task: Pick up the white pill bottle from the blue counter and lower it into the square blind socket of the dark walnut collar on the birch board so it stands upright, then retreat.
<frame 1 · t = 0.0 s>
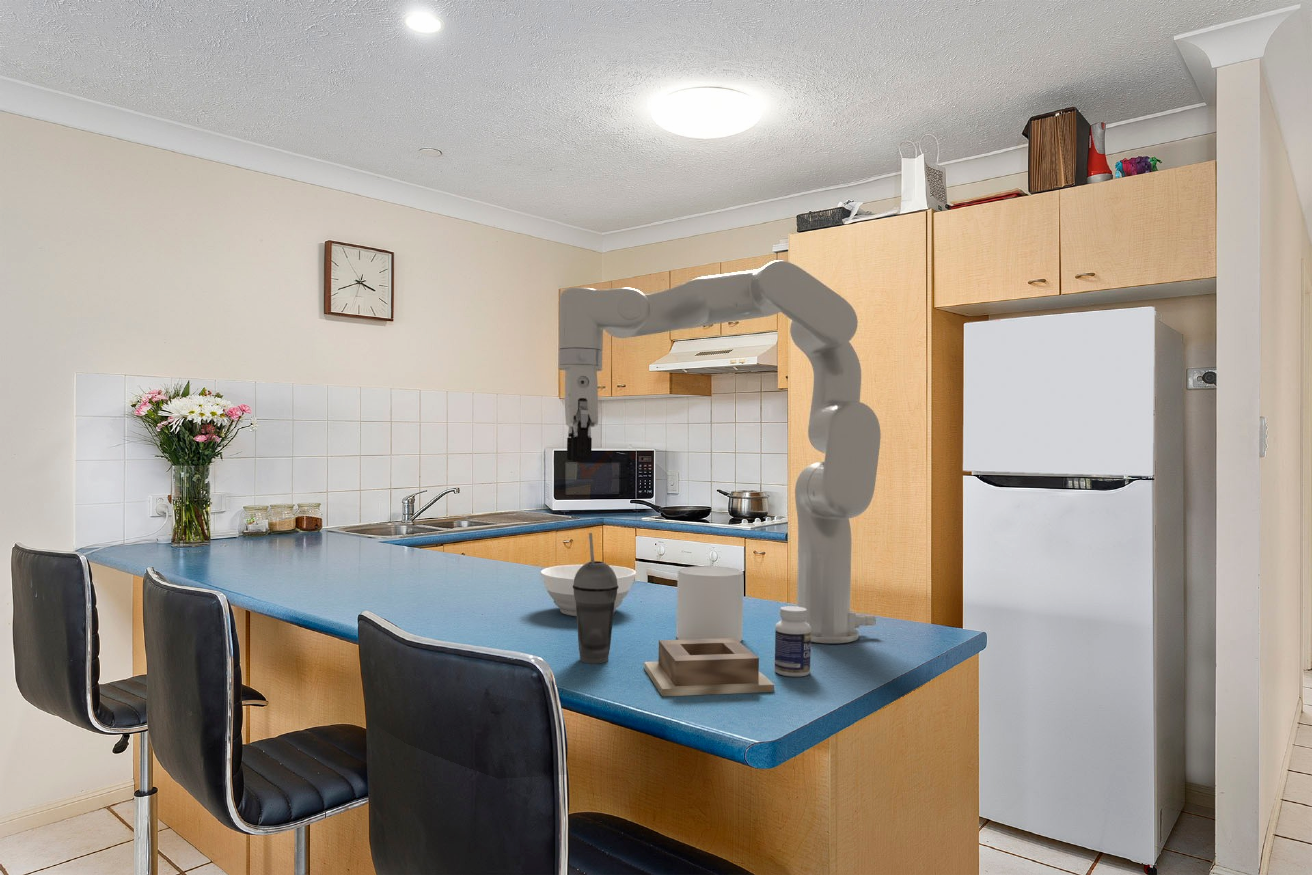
hand: (578, 460, 141), 31 cm above the table, fingers open, 9 cm apart
hole block: (706, 679, 120), on the table
beverage cup: (594, 660, 130), on the table
bowl: (587, 612, 167), on the table
pill bottle: (792, 673, 125), on the table
white cylinder: (709, 639, 146), on the table
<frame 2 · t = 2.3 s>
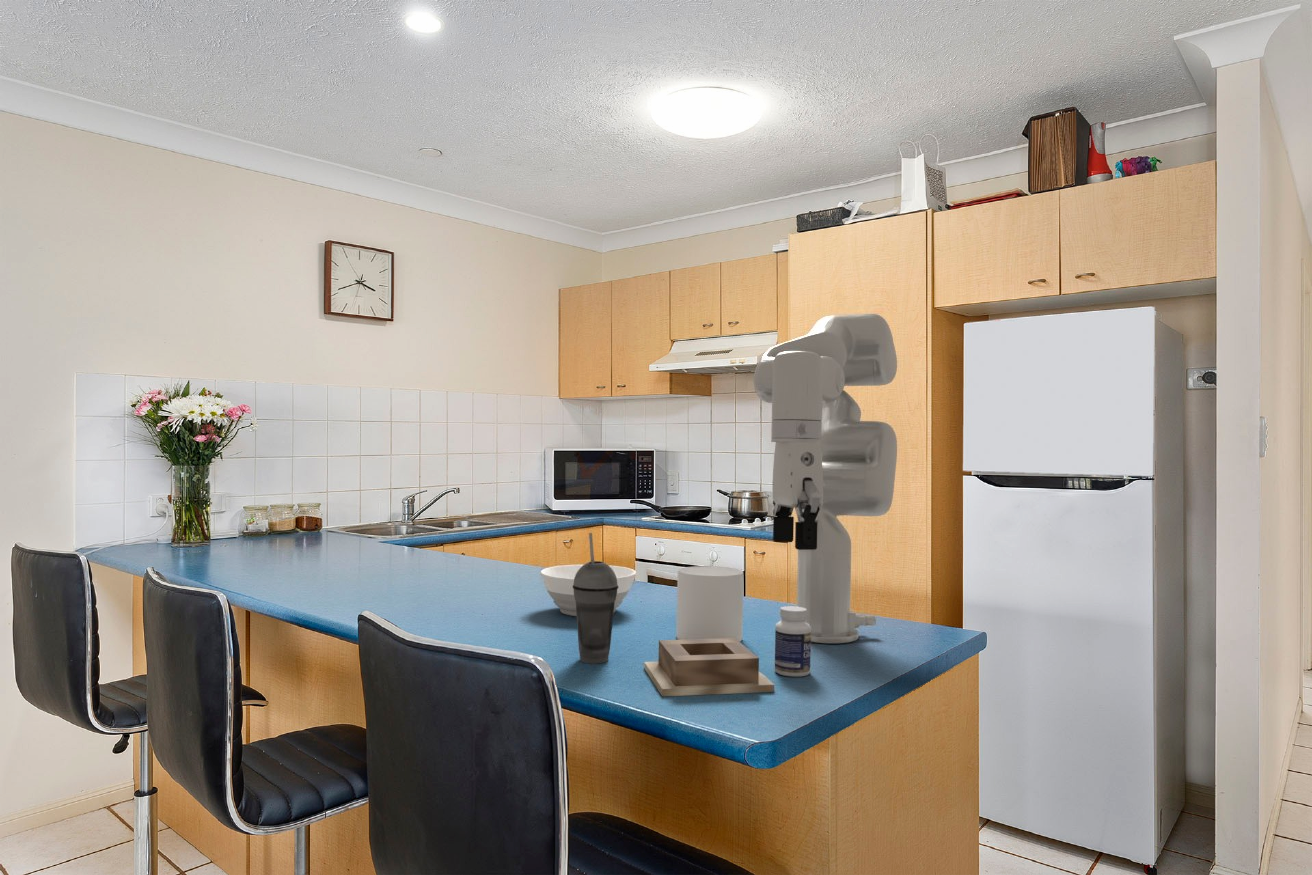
hand: (794, 545, 125), 19 cm above the table, fingers open, 9 cm apart
nothing on the table moved.
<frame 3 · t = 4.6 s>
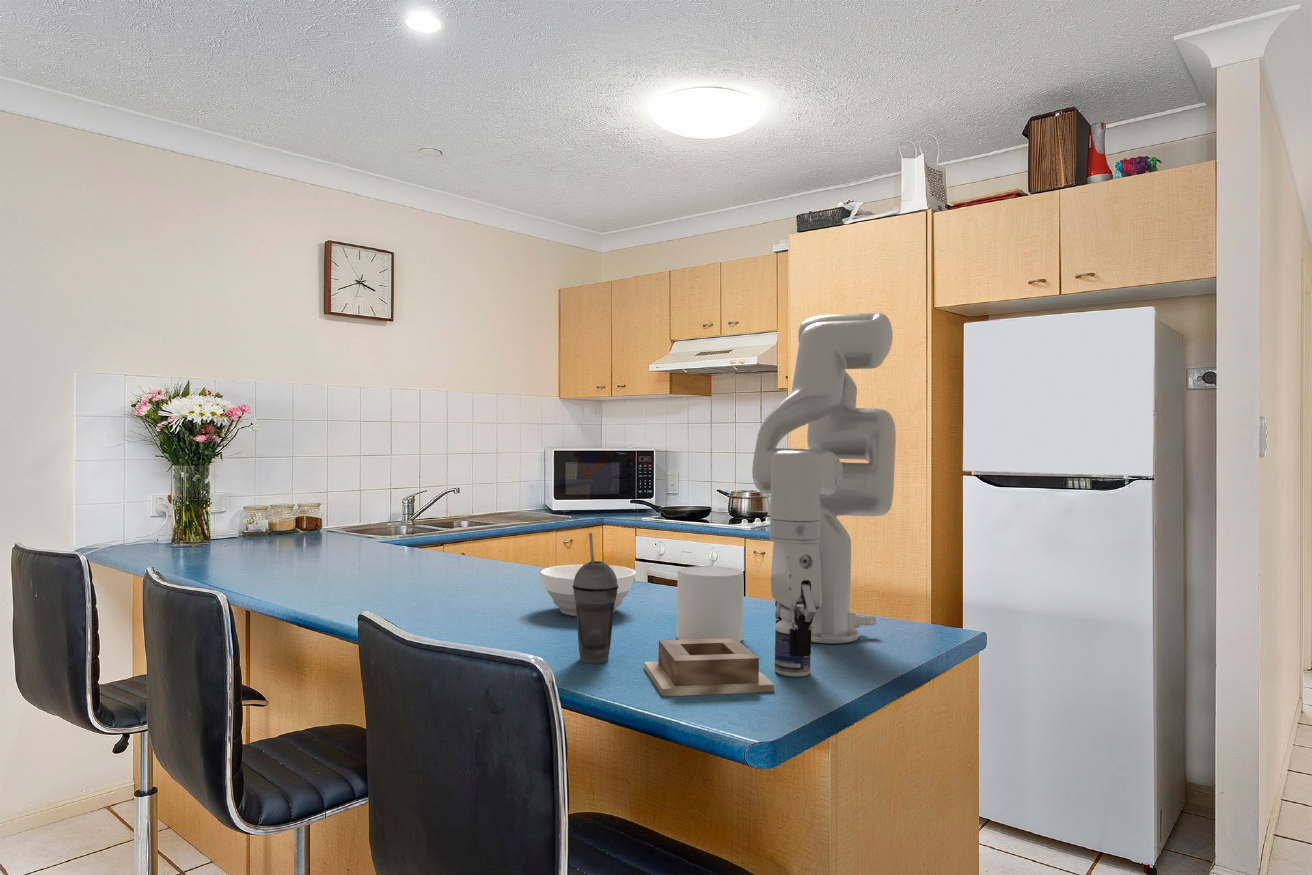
hand: (792, 649, 125), 3 cm above the table, fingers closed on pill bottle, 5 cm apart
pill bottle: (792, 673, 125), on the table, touching gripper
everything else where it was.
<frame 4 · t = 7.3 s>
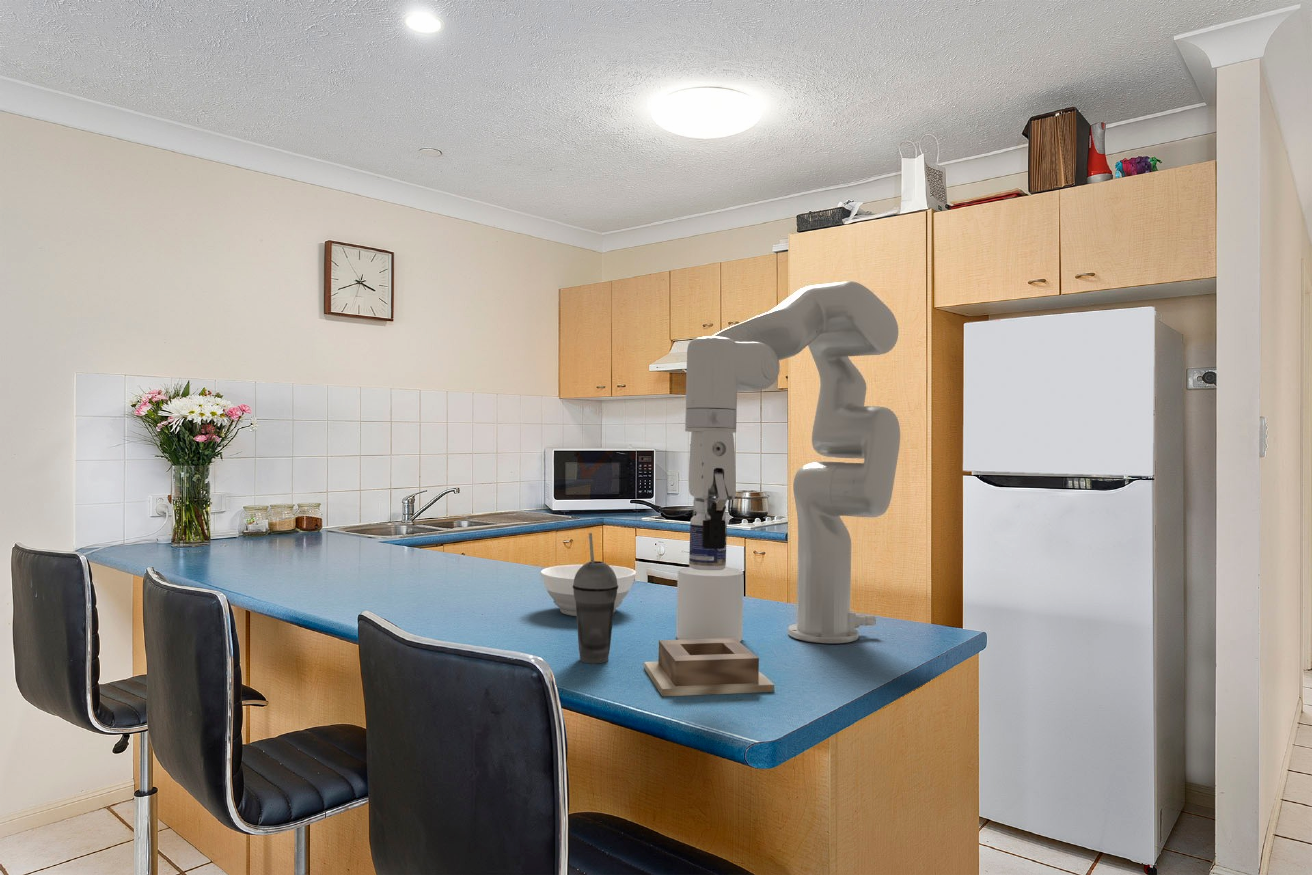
hand: (708, 544, 120), 20 cm above the table, fingers closed on pill bottle, 5 cm apart
pill bottle: (707, 569, 120), point 16 cm above the table, touching gripper
everything else where it was.
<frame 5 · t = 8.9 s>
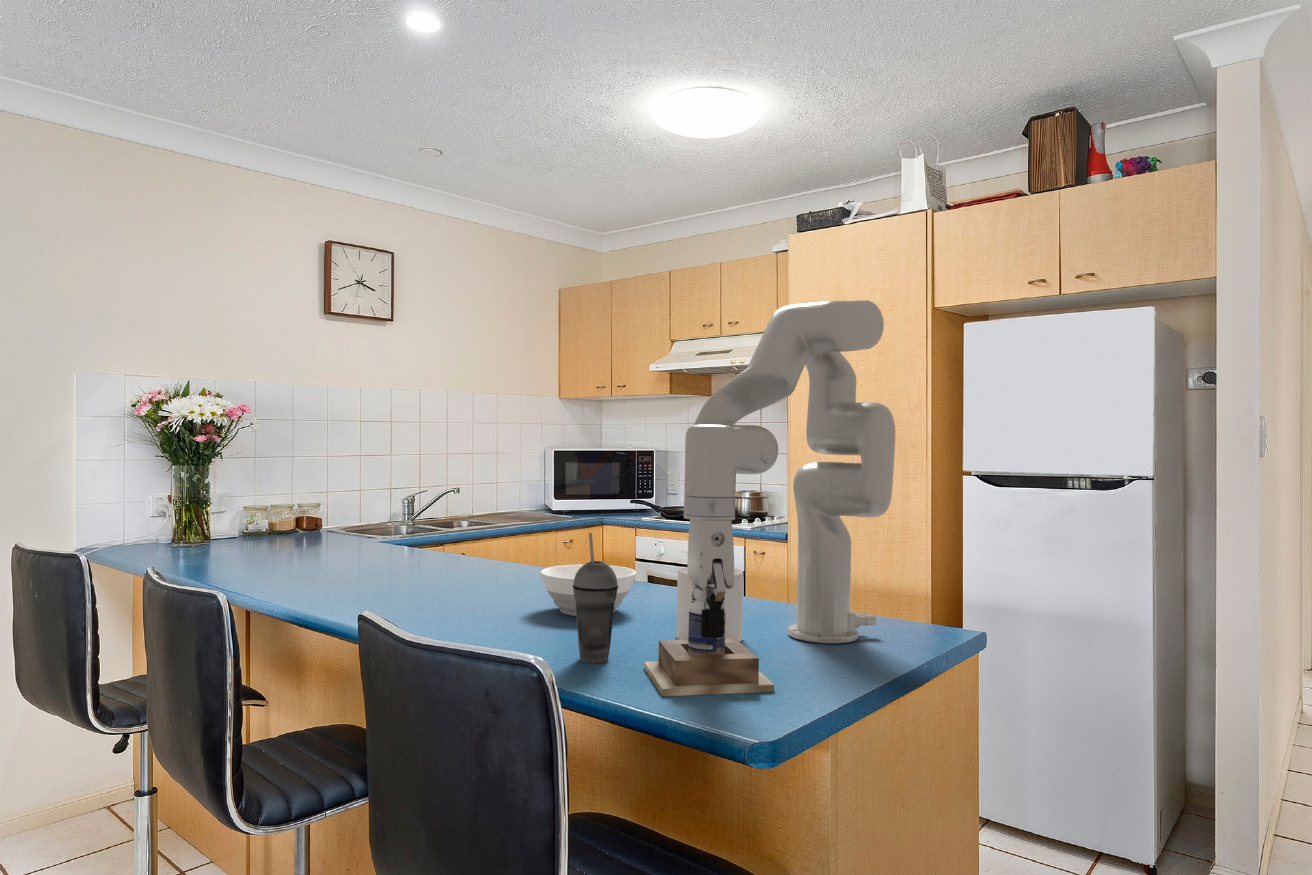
hand: (706, 631, 120), 7 cm above the table, fingers closed on pill bottle, 5 cm apart
pill bottle: (706, 656, 120), point 3 cm above the table, touching gripper
everything else where it was.
when the fingers open (6 cm above the table, at t = 9.9 s): pill bottle drops 1 cm, resting on hole block.
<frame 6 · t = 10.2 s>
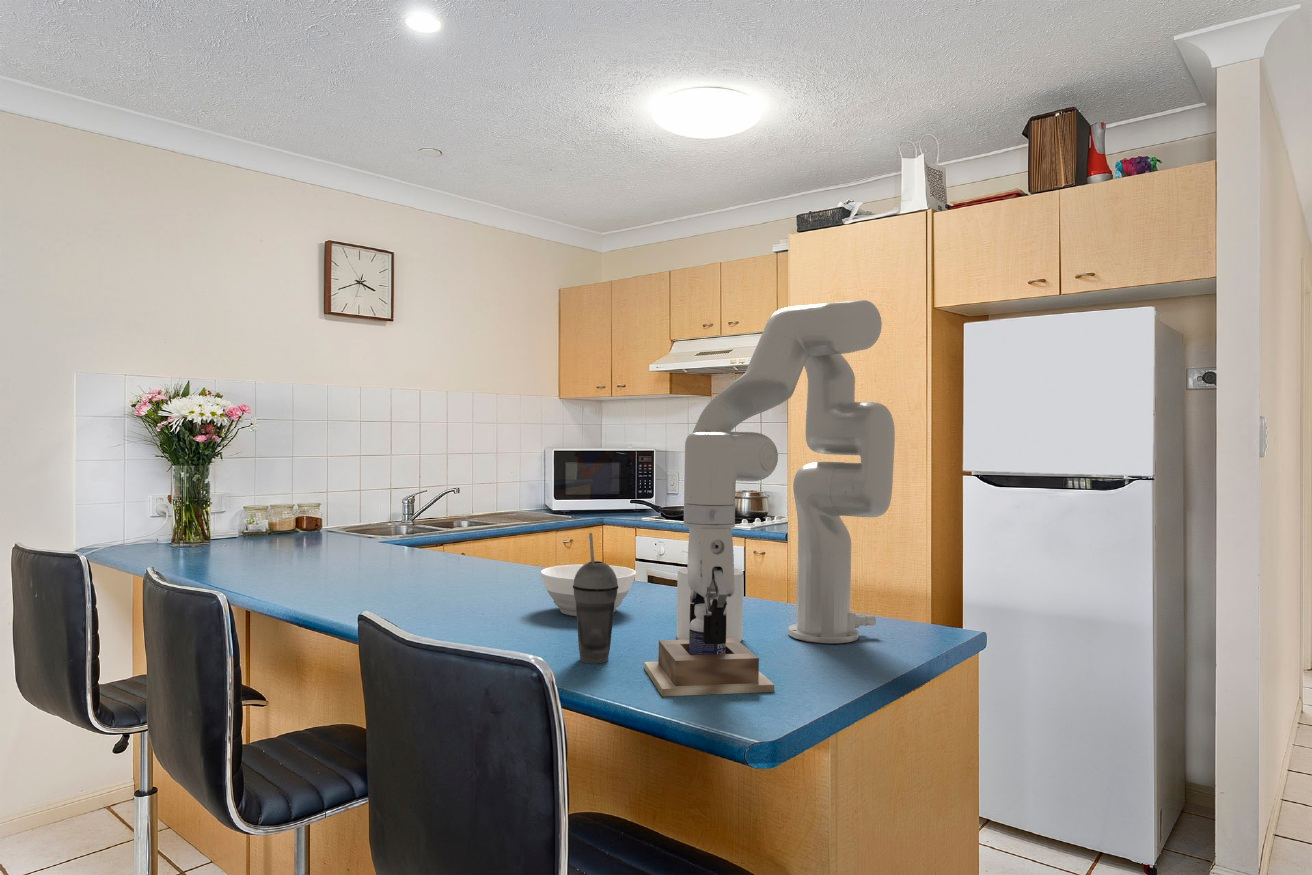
hand: (707, 635, 120), 6 cm above the table, fingers open, 7 cm apart
pill bottle: (706, 673, 120), point 1 cm above the table, touching hole block
everything else where it was.
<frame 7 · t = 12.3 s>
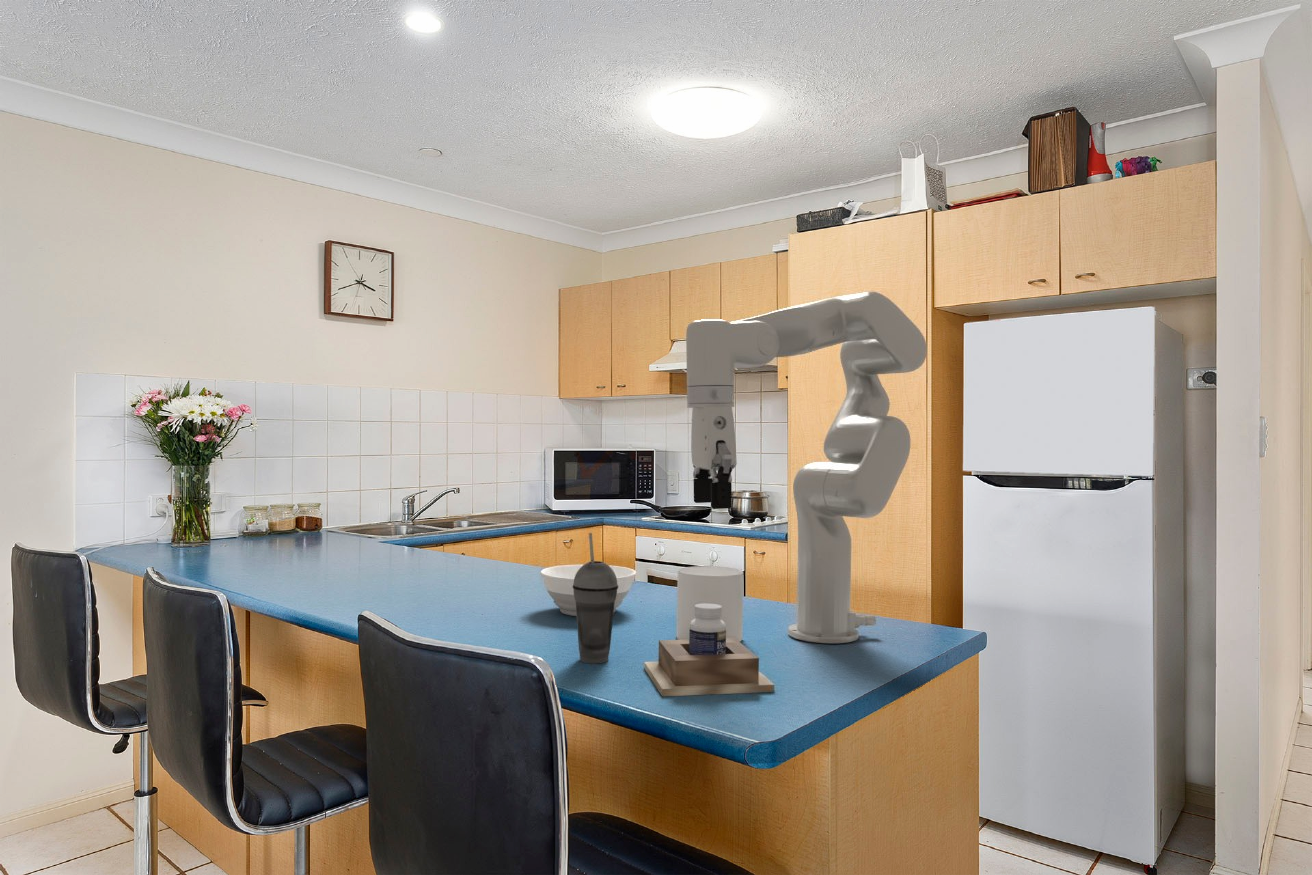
hand: (712, 505, 131), 25 cm above the table, fingers open, 9 cm apart
nothing on the table moved.
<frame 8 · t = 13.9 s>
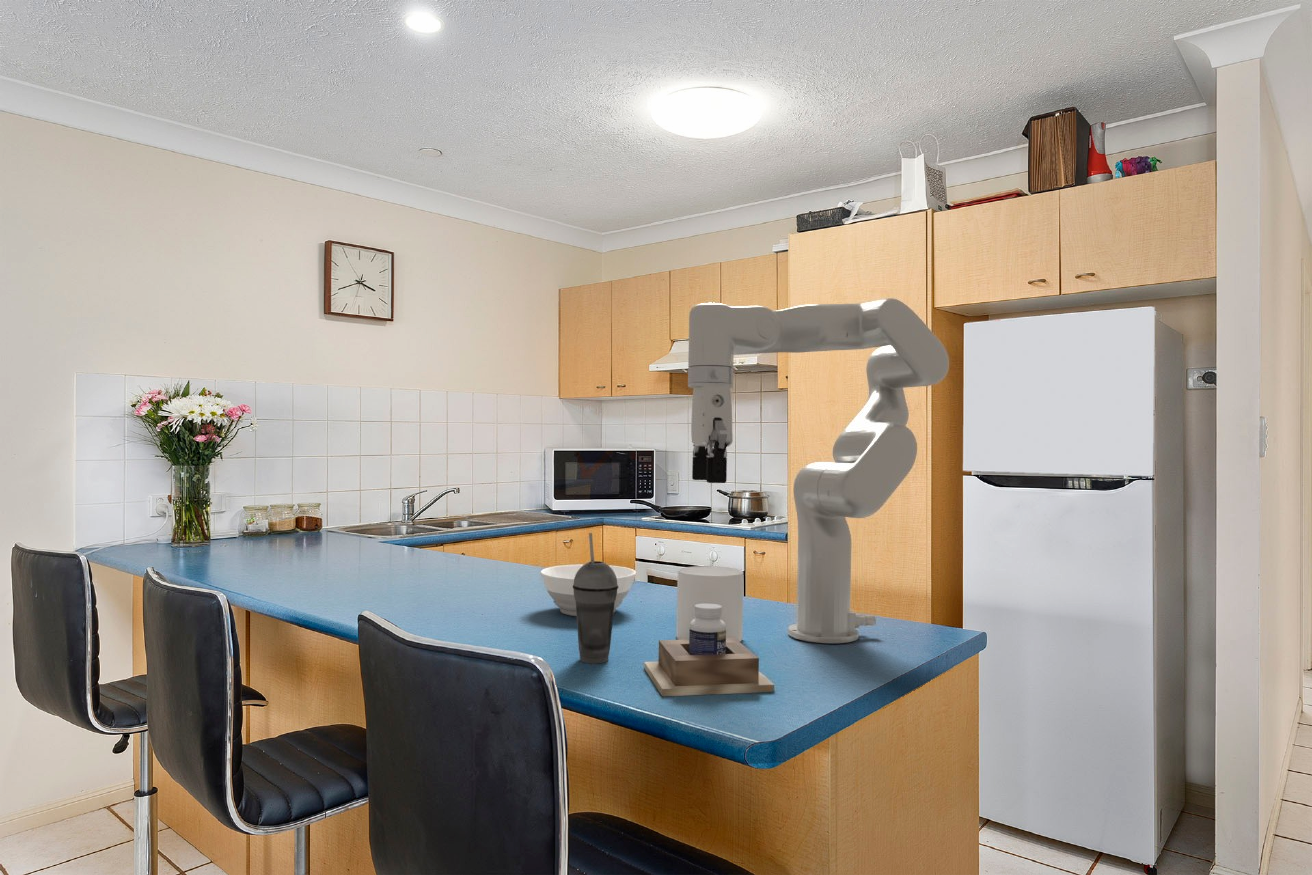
hand: (708, 481, 137), 28 cm above the table, fingers open, 9 cm apart
nothing on the table moved.
at the end: pill bottle 0.3 cm from the hole block (horizontally); pill bottle tilted 0°; the gripper is holding nothing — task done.
